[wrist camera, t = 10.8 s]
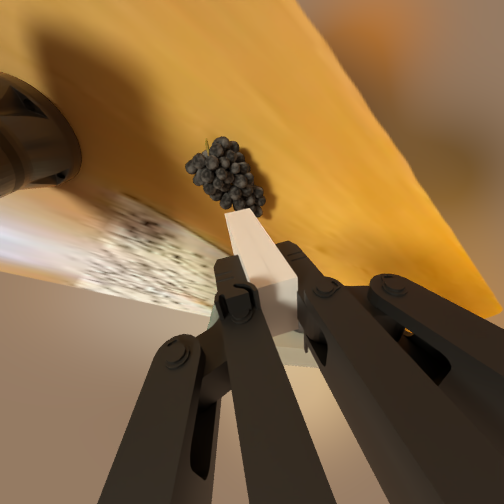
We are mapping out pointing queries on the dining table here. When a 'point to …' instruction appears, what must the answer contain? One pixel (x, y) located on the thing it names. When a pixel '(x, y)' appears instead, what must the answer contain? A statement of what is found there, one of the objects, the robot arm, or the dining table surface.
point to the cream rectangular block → (293, 350)
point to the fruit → (226, 176)
